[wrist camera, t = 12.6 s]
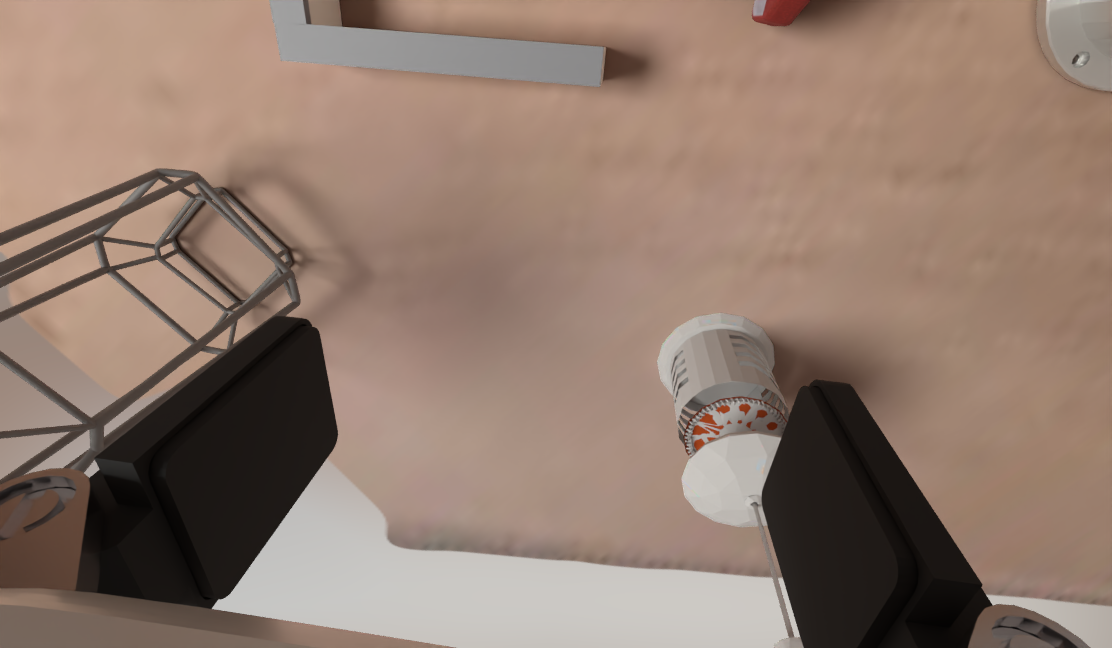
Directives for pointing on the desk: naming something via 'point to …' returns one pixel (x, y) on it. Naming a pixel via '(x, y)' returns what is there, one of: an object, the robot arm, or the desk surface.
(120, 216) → the geometric lantern
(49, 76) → the desk surface
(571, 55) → the white u-shaped wall
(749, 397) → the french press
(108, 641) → the robot arm
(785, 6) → the toy fire truck
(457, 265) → the desk surface
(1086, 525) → the desk surface
